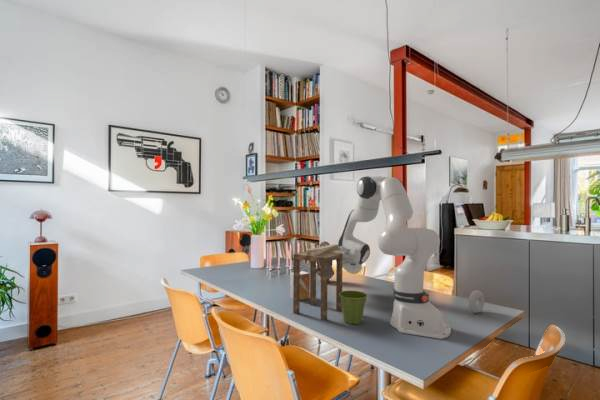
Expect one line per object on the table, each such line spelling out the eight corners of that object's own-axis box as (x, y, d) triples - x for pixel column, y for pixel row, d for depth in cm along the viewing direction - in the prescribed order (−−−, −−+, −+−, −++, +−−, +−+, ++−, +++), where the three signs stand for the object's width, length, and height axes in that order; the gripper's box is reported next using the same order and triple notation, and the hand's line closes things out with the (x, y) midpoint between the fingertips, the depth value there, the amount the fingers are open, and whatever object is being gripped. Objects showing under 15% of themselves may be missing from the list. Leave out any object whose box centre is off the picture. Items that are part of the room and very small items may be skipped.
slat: (338, 249, 158) (338, 244, 158) (313, 256, 138) (313, 250, 138) (333, 249, 159) (333, 244, 159) (307, 255, 140) (307, 249, 140)
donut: (474, 316, 140) (474, 293, 140) (466, 313, 143) (466, 291, 143) (486, 311, 146) (486, 289, 146) (478, 309, 149) (478, 288, 149)
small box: (296, 301, 159) (296, 274, 160) (289, 297, 165) (289, 272, 165) (309, 298, 164) (310, 273, 164) (302, 295, 169) (303, 270, 169)
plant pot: (362, 329, 124) (362, 300, 125) (334, 323, 130) (334, 295, 130) (371, 319, 135) (371, 292, 135) (344, 314, 141) (344, 288, 141)
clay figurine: (326, 279, 206) (327, 240, 207) (338, 282, 199) (338, 241, 199) (312, 282, 198) (312, 241, 198) (323, 285, 190) (323, 243, 191)
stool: (342, 310, 146) (342, 253, 147) (324, 320, 133) (325, 257, 133) (312, 303, 155) (312, 249, 156) (293, 313, 142) (293, 254, 142)
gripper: (328, 250, 173) (316, 239, 163) (363, 253, 162) (354, 242, 152) (325, 261, 171) (313, 250, 161) (361, 265, 159) (351, 254, 149)
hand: (333, 246), depth 156 cm, fingers open, 6 cm apart
